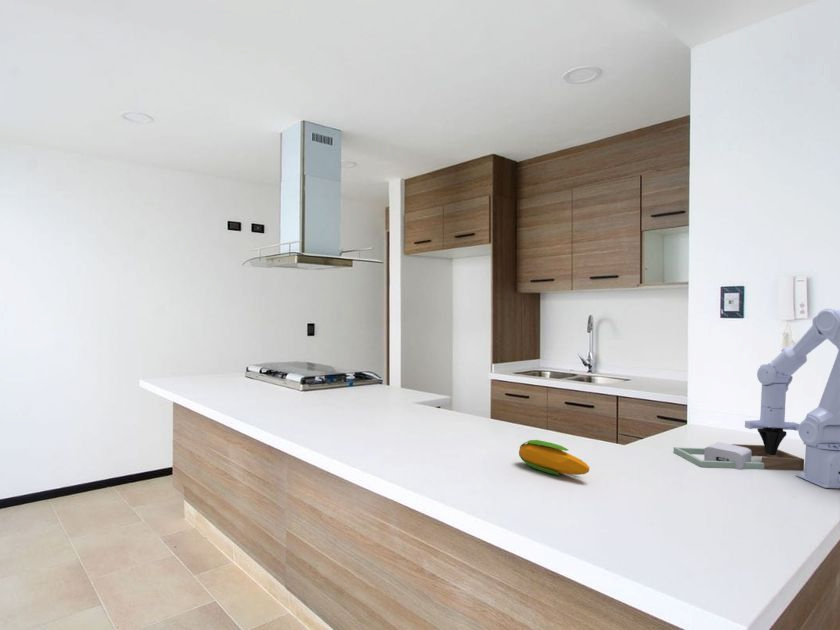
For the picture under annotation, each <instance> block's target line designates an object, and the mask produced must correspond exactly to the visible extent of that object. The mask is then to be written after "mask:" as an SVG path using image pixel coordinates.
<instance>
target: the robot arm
mask: <svg viewBox="0 0 840 630" xmlns="http://www.w3.org/2000/svg"><path fill="white" fill-rule="evenodd" d="M826 340H828V341H830V343H832V344H833V345H834V346H835V347H836V348H837V350H838V351H837V354H836V356H835V359H834V362H833V365H832V368H831V371H830V373H829V376H828V377H827V378H828V379H827V382H826V384H825V387H824V390H823V393H822V395H821V398H820V401H819V403H818V406H817V407H816V408H814V409H812V410H811V411H809V412H808V413H807V414H806V416H805V418H804V419H803V420H802V421H801V422H800V423H797V422H791V421H785V420H786V419H785V418H786V397H787V392H788V391H789V386H790V384H791V383H792V381H793V377H794V376H793V375H794V374H795V373H796V372H797V371H798V370H799V369H800V368H801V367H802V366H803V365H804V364H805V363H807V361H808V358H807V355H808V354H810V353H811V352H812V351H813V350H815V349H816V348H817V347H819V346H820V345H821V344H822V343H824V342H826ZM780 351H781V352H780V353H779V354H778V355H777V356H776V357H775V358H774V359H772V361H770V362H769V363H766V364H761V365H760V366H759V368H758V369H757V371H756V373H757V374H756V376H757V380H758V381H759V383H760V384H761V394H760V395H761V396H760V397H761V398H760V415H759V416H760V419H758V420H757V419H756V420H744V428H746V429H748V430H753V429H755V430H757V432H758V434H759V436H760V437H761V440H762V442H763V443H762V444H763V445H764V447H765V451H766V453H767V454H769V455H776V452H777V449H778V450H779V447H780V444H781V443H782V442H783V440H784V438H785V437H786V436H787V431H785V430H789V431H792V430H793V431H797V432H798V436H799V437H800V439H801V441H802V442H803V444H802V445H805V457H804V473H795V476H796V477H799V478H801V479H804V480H806V481H808V482H810V483H812V484H814V485H817V486H820V487H821V488H824V489H825V488H826V489H840V309H835V308H823V309H822V310H820V311H819V312H818V314H817V315H815V317H813V318H812V325H811V326H810V327H809V328H808V330H806V332H805V334H804V335H803V336H802V337H801V338H800V339H799V340H798V341H797V343H796V344H795V345H794V346H787V347H784V348H782V350H780Z"/></svg>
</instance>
